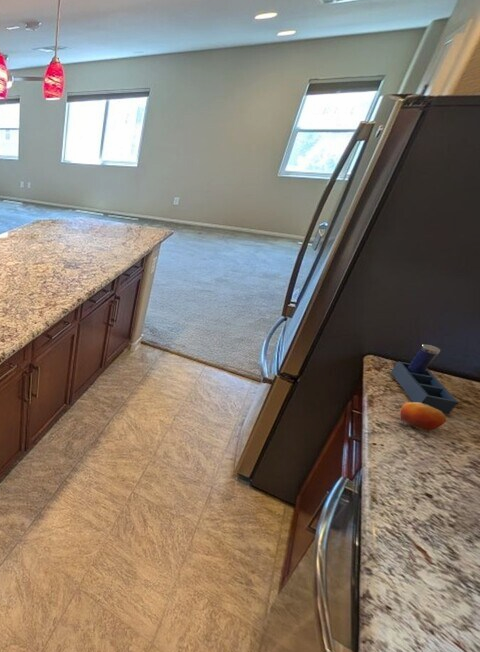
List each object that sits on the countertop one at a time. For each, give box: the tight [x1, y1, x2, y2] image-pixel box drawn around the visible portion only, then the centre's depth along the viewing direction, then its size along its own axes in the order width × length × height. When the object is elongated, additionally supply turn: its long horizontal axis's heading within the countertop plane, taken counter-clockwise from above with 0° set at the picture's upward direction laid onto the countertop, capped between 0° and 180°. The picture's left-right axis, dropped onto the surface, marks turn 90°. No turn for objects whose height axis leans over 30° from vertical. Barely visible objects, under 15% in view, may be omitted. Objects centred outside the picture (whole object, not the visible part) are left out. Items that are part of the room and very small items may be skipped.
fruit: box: [399, 401, 447, 434], centre depth 105 cm, size 8×8×8 cm
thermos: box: [407, 344, 441, 374], centre depth 119 cm, size 4×4×12 cm
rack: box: [390, 361, 459, 415], centre depth 117 cm, size 7×18×4 cm, turn 155°
